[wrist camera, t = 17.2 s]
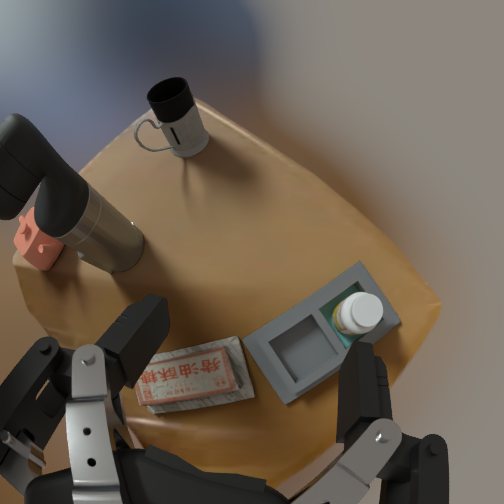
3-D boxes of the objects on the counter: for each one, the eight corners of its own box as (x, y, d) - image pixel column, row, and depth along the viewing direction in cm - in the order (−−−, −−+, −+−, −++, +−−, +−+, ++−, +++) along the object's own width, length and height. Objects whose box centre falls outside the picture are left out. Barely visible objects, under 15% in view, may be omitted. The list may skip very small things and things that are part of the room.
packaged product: (139, 419, 33) (123, 358, 36) (152, 412, 37) (137, 357, 40) (253, 402, 32) (233, 334, 36) (256, 395, 37) (239, 335, 40)
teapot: (51, 210, 52) (25, 191, 42) (86, 243, 48) (54, 223, 38) (29, 248, 50) (1, 233, 40) (60, 289, 45) (25, 276, 36)
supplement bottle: (370, 310, 38) (395, 301, 29) (354, 341, 37) (375, 341, 28) (342, 293, 39) (359, 279, 30) (324, 324, 38) (338, 319, 29)
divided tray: (284, 403, 36) (284, 408, 33) (242, 339, 40) (239, 339, 37) (399, 321, 38) (407, 319, 35) (358, 261, 42) (364, 255, 38)
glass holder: (217, 133, 53) (200, 78, 39) (175, 183, 50) (144, 132, 36) (186, 123, 55) (166, 73, 41) (146, 169, 52) (113, 122, 38)
